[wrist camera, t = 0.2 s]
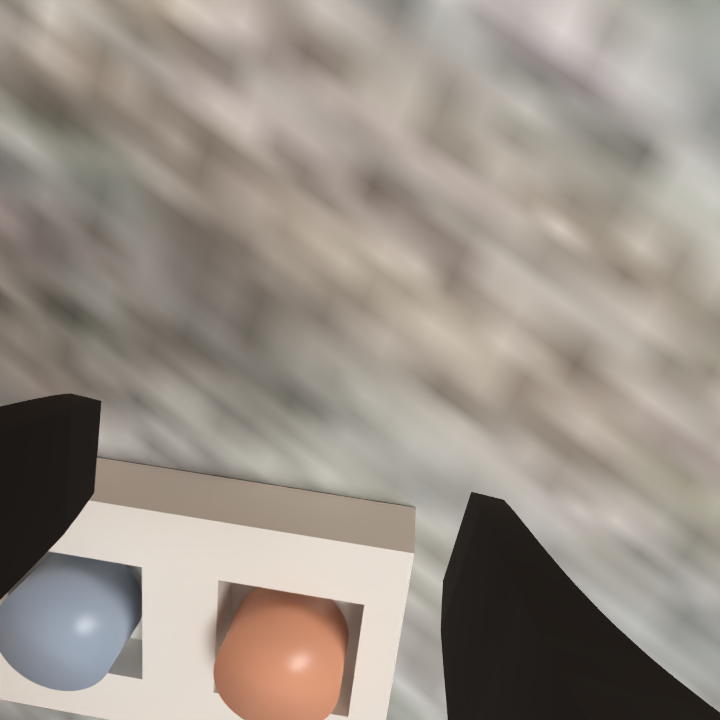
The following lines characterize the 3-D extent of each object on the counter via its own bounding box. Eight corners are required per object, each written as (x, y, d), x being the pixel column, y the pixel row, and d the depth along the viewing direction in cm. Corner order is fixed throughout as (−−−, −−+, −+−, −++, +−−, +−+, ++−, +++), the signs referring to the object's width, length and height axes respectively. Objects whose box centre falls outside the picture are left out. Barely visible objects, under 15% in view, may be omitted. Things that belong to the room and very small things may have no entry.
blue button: (144, 649, 24) (113, 700, 21) (39, 630, 24) (-2, 679, 22) (143, 557, 22) (111, 601, 20) (31, 538, 22) (-13, 579, 20)
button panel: (382, 707, 25) (377, 770, 23) (-137, 613, 27) (-199, 661, 24) (415, 507, 22) (414, 553, 20) (-176, 414, 24) (-251, 444, 21)
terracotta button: (342, 684, 23) (333, 741, 21) (232, 665, 23) (211, 718, 21) (355, 592, 22) (346, 642, 19) (237, 573, 22) (215, 619, 20)
